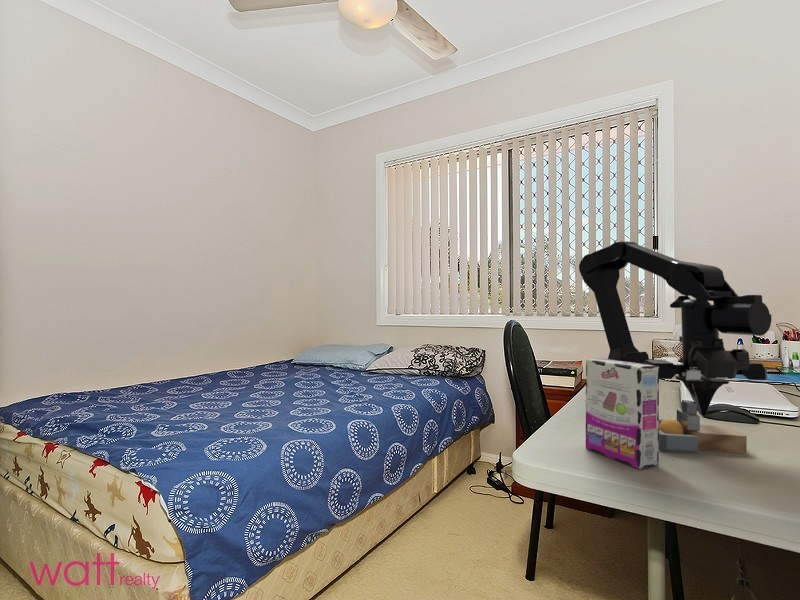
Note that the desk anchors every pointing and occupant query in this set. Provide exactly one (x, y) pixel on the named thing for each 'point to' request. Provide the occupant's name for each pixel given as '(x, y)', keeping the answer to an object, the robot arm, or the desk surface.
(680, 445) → the tray
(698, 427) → the gray zigzag block
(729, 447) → the tan block
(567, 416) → the desk surface
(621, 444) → the candy bar box
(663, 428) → the ball
